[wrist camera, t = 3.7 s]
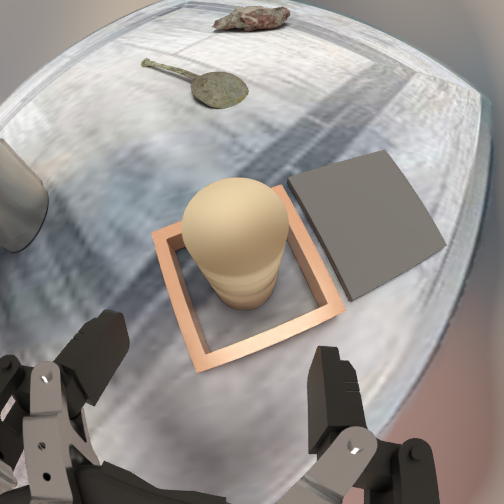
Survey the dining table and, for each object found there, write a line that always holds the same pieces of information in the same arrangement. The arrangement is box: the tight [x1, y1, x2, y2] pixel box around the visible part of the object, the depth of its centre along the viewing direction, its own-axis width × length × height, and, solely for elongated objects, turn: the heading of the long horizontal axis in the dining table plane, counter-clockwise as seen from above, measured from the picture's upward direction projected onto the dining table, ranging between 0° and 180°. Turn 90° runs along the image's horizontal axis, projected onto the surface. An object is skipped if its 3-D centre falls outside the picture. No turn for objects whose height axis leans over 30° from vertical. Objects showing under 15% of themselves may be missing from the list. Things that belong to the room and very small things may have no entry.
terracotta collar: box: [152, 185, 346, 373], centre depth 20 cm, size 11×11×2 cm
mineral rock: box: [212, 6, 290, 32], centre depth 37 cm, size 15×8×4 cm, turn 89°
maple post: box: [181, 178, 289, 310], centre depth 17 cm, size 5×5×10 cm
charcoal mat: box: [287, 150, 447, 301], centre depth 23 cm, size 12×12×1 cm
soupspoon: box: [141, 58, 249, 109], centre depth 31 cm, size 22×3×7 cm
